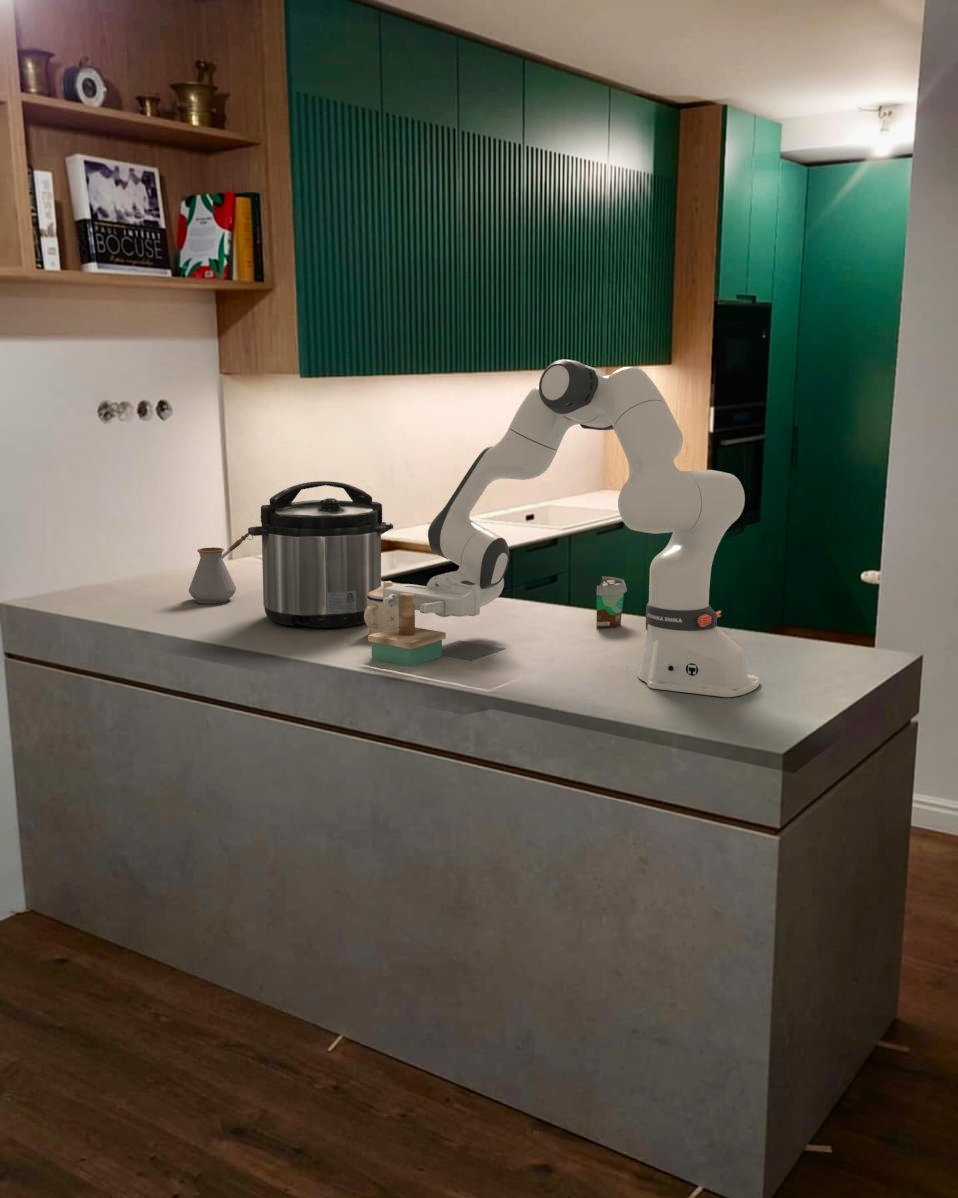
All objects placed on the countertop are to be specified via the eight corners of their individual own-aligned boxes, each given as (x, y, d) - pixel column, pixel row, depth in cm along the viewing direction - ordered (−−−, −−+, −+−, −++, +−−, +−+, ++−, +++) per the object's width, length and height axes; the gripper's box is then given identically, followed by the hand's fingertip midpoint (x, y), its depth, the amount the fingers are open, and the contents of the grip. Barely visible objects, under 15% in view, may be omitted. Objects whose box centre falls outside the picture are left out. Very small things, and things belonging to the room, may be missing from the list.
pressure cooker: (403, 608, 285) (401, 476, 279) (369, 635, 258) (366, 489, 252) (285, 602, 291) (280, 473, 285) (239, 628, 264) (233, 486, 258)
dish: (442, 657, 239) (441, 638, 238) (410, 668, 231) (410, 648, 230) (403, 650, 245) (403, 631, 244) (371, 660, 237) (371, 641, 236)
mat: (505, 650, 245) (505, 648, 245) (471, 662, 235) (471, 660, 235) (459, 642, 252) (459, 640, 252) (424, 653, 242) (424, 651, 242)
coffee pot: (216, 607, 286) (213, 545, 283) (179, 602, 291) (176, 542, 288) (270, 591, 305) (268, 533, 302) (234, 587, 310) (232, 530, 307)
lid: (445, 638, 238) (445, 593, 236) (410, 649, 229) (410, 602, 228) (403, 630, 245) (402, 587, 243) (368, 641, 236) (367, 595, 234)
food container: (623, 631, 261) (624, 587, 259) (595, 630, 263) (596, 586, 261) (628, 619, 273) (629, 576, 271) (601, 618, 274) (602, 575, 272)
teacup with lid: (386, 627, 265) (386, 576, 263) (418, 633, 260) (417, 580, 258) (350, 637, 256) (348, 584, 253) (381, 643, 251) (380, 589, 248)
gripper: (407, 574, 251) (364, 584, 240) (486, 585, 240) (444, 596, 229) (407, 603, 253) (364, 615, 242) (485, 615, 241) (444, 628, 230)
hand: (404, 606), depth 235 cm, fingers open, 8 cm apart
